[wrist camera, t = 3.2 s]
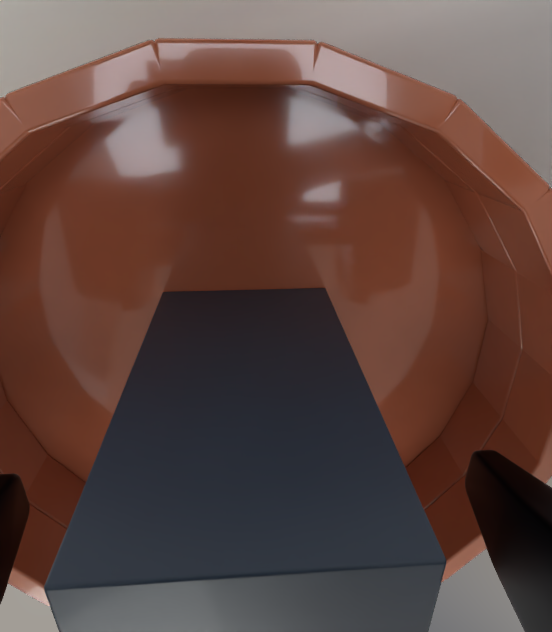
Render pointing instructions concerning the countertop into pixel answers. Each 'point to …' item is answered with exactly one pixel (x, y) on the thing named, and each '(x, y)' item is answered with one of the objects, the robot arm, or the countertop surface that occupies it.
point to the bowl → (269, 254)
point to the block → (247, 484)
